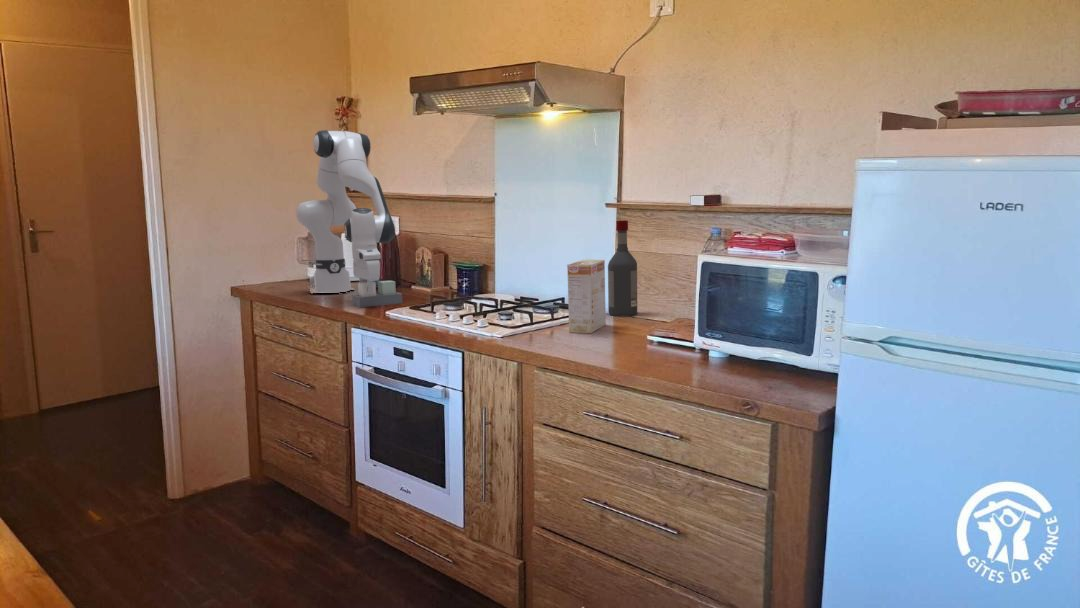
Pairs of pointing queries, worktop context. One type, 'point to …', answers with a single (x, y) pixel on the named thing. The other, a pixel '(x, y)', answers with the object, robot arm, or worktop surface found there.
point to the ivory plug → (365, 289)
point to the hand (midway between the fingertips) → (367, 291)
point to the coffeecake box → (586, 295)
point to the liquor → (622, 277)
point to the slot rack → (377, 300)
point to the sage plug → (386, 287)
